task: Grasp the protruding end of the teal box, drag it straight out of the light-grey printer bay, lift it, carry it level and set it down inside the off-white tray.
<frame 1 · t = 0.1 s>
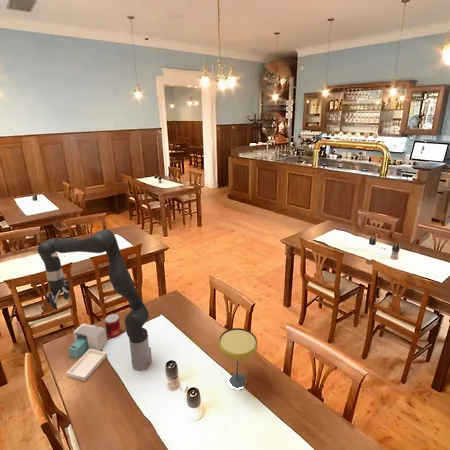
hand: (60, 303, 165), 29 cm above the table, fingers open, 8 cm apart
cocktail glass: (236, 381, 154), on the table
canned food: (114, 333, 186), on the table
printer bay: (91, 344, 177), on the table
teal box: (82, 349, 174), on the table
tray: (87, 366, 162), on the table
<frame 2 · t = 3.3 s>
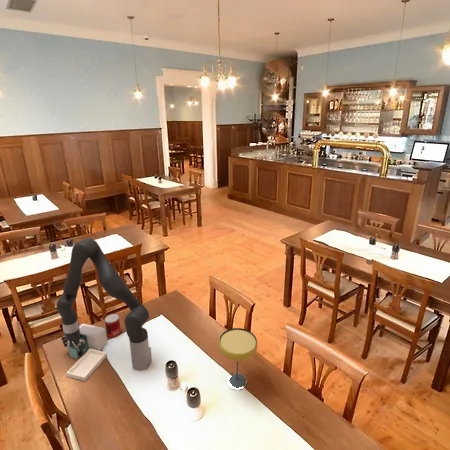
hand: (76, 353, 169), 1 cm above the table, fingers closed on teal box, 5 cm apart
teal box: (82, 349, 174), on the table, touching gripper
everything else where it was.
when the fingers open (3 cm above the table, at t = 11.7 s): teal box drops 1 cm, resting on tray.
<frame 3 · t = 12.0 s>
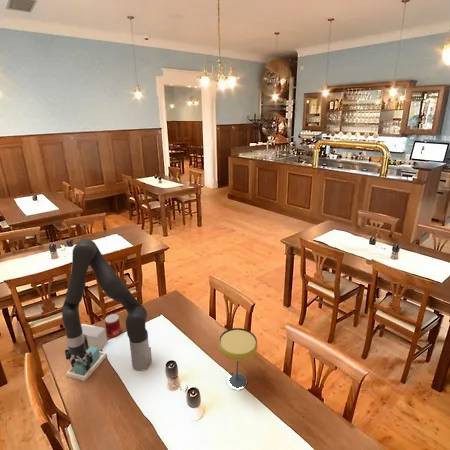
hand: (81, 367, 157), 3 cm above the table, fingers open, 8 cm apart
teal box: (88, 365, 162), point 1 cm above the table, touching tray
everything else where it was.
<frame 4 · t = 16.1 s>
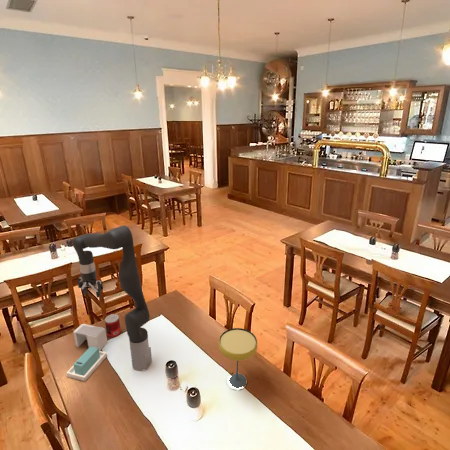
hand: (92, 295, 174), 28 cm above the table, fingers open, 8 cm apart
nothing on the table moved.
at the end: teal box inside the target area on the tray (0.1 cm from its centre), point 0.6 cm above the tray's base; teal box tilted 0°; the gripper is holding nothing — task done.
